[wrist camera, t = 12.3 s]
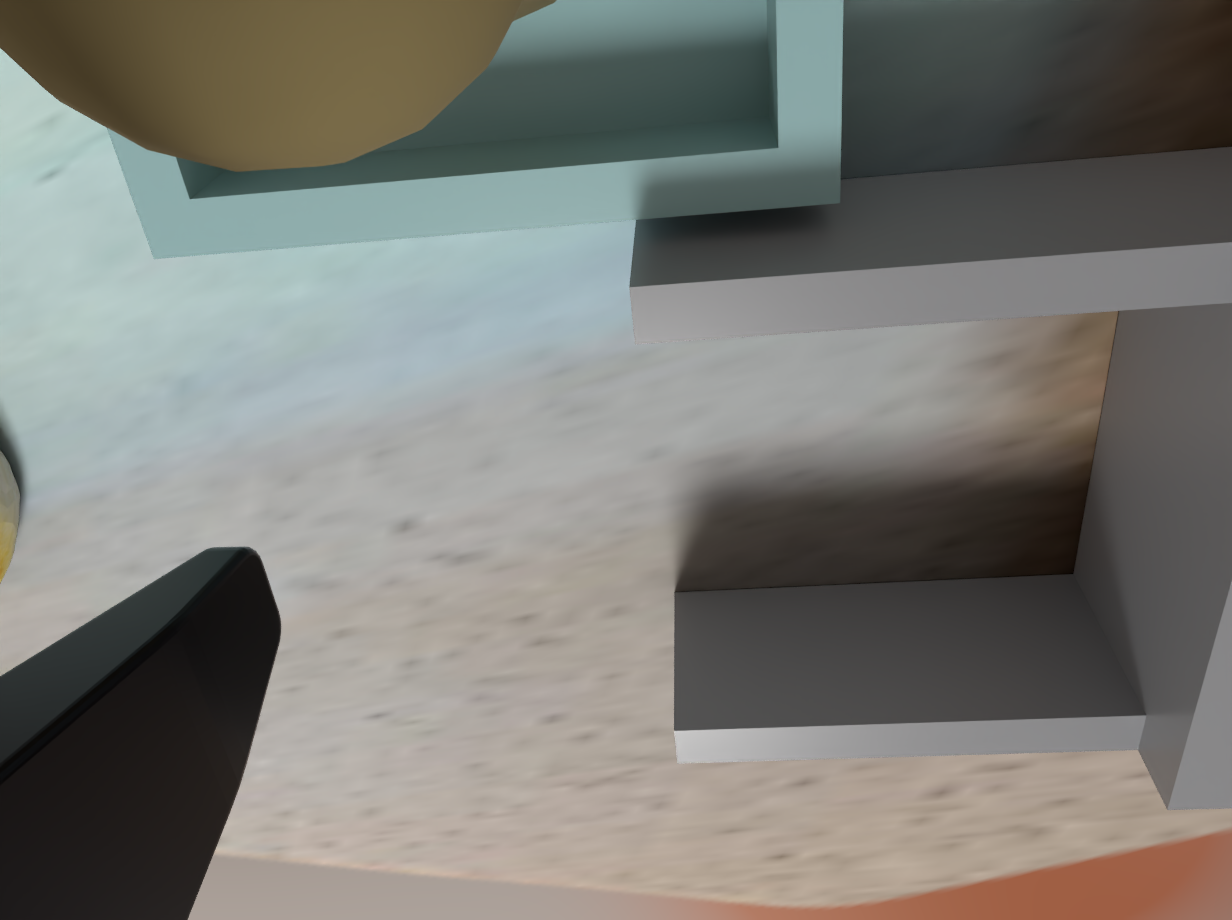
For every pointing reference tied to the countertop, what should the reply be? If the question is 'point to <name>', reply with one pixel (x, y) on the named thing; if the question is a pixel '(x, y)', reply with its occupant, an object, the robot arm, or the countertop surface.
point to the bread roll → (7, 514)
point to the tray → (554, 136)
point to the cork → (258, 70)
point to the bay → (1117, 495)
